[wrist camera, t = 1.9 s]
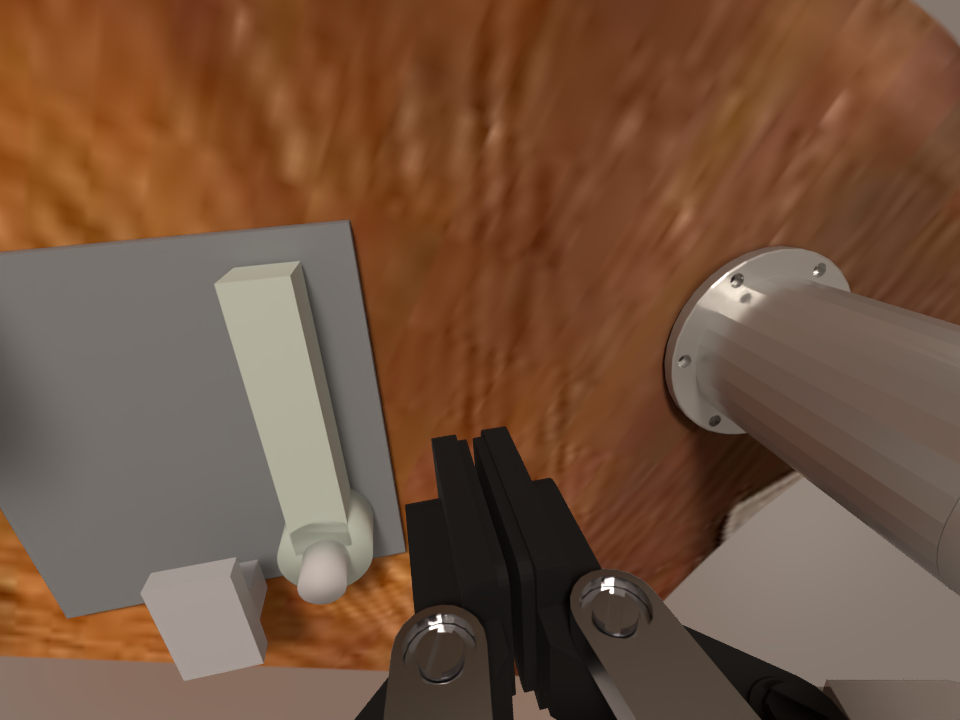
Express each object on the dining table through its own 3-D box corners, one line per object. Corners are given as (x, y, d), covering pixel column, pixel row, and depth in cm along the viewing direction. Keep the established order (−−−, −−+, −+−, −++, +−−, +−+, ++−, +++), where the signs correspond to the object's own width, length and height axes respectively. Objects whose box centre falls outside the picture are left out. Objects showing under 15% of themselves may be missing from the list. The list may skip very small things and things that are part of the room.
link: (378, 542, 30) (379, 610, 26) (296, 558, 30) (282, 631, 25) (322, 258, 23) (308, 285, 19) (210, 269, 22) (168, 300, 18)
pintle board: (349, 219, 24) (341, 241, 18) (406, 548, 33) (411, 630, 27) (-123, 263, 21) (-305, 305, 15) (81, 611, 30) (13, 718, 24)
